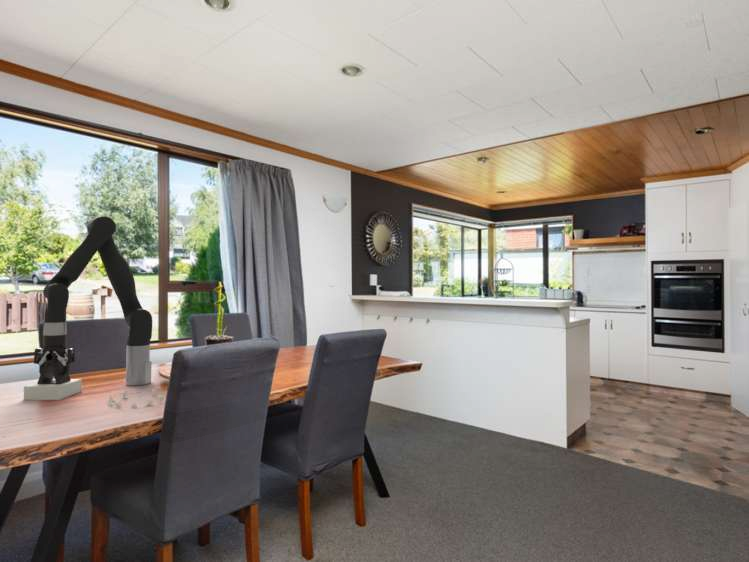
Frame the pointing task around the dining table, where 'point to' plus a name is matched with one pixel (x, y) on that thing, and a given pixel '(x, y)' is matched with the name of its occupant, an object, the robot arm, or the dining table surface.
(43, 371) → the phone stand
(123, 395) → the game piece set
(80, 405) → the dining table surface
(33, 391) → the cream block
